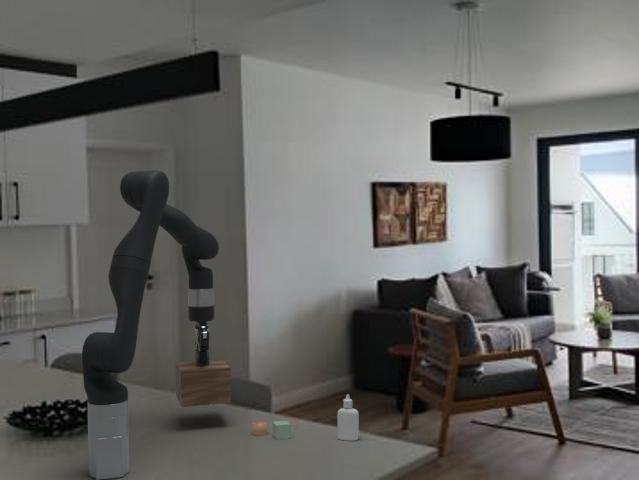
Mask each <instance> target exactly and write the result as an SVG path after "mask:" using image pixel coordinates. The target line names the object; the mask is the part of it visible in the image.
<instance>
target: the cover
mask: <svg viewBox="0 0 639 480" xmlns="http://www.w3.org/2000/svg"><path fill="white" fill-rule="evenodd" d="M194 350H195V351H194V352H195V360H186V361H185V360H184V361H175V396H176V399H177V400H178V403H179V405H180V407H181V408H186V407H198V406H199V407H200V406H207V405H208V406H210V405H218V404H219V405H220V404H232V386H231V385H232V381H231V380H232V379H231V377H232V374H231V371H232V369H231V368H232V367H230V366H229V365H228V363H227V362H226V361H225V360H224V359H223V358H215V359H212V358H211V359H210V349H209V350H208V351H207V364H203V365H201V364H200V363H199V350H198V349H197V348H195V349H194Z"/></svg>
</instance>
